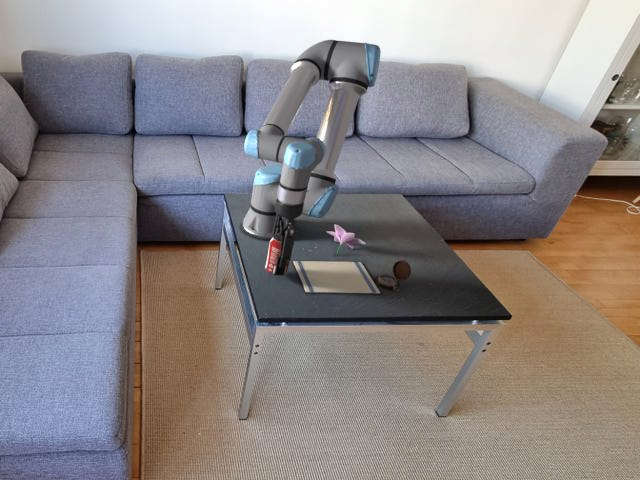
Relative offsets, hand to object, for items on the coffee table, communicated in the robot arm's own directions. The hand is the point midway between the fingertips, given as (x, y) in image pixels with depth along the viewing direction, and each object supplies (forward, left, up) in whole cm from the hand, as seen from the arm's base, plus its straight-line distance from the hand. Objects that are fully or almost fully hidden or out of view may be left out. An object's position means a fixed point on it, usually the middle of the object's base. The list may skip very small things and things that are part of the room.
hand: (276, 267), depth 136 cm
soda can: (0, 0, -1) cm, 1 cm away
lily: (-15, +26, -3) cm, 30 cm away
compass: (+4, +35, -3) cm, 35 cm away
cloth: (0, +19, -3) cm, 19 cm away
